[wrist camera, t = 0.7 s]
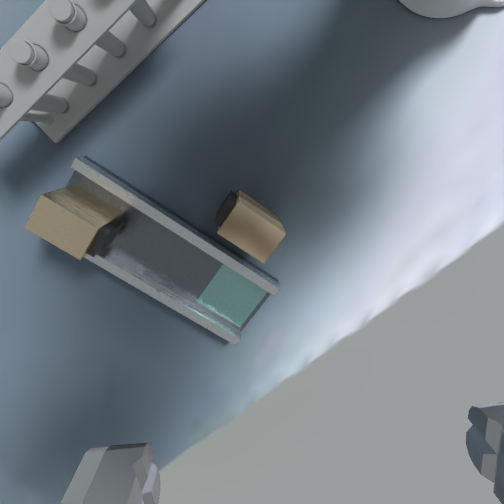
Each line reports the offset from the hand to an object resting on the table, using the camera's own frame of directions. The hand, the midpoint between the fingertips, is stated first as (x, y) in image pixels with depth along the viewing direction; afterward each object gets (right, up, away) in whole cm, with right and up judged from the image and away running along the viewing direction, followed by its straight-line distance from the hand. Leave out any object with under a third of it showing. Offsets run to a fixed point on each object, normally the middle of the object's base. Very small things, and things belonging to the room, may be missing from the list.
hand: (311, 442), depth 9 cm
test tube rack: (-16, +27, +29) cm, 42 cm away
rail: (-12, +5, +36) cm, 38 cm away
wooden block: (-2, +9, +35) cm, 36 cm away
